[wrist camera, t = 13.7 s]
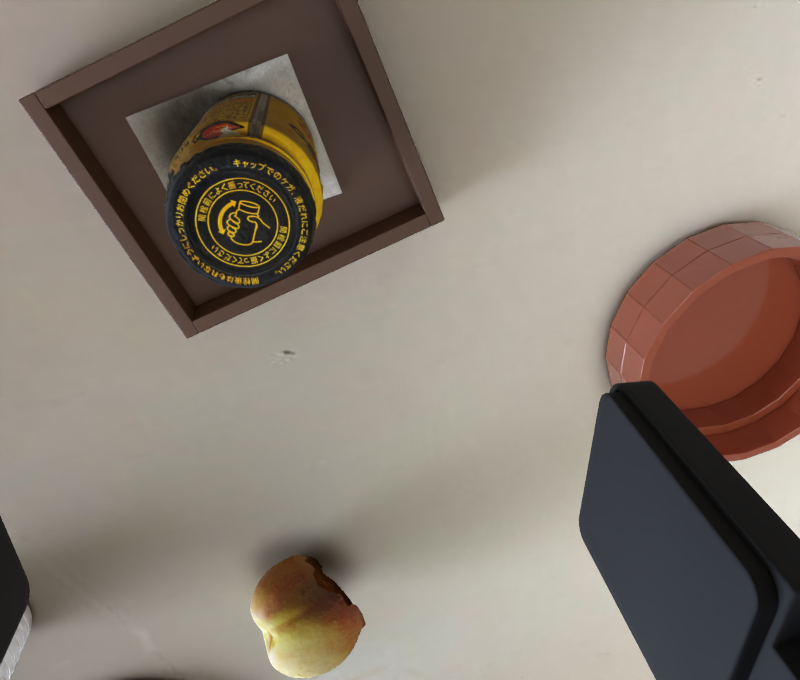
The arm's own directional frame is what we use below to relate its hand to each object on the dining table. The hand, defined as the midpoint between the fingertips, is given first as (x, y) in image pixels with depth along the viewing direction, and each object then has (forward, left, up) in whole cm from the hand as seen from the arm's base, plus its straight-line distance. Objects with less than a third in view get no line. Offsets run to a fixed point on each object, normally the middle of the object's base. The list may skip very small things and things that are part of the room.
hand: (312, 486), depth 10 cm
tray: (0, -2, -27) cm, 27 cm away
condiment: (0, -3, -26) cm, 27 cm away
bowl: (+13, +27, -27) cm, 40 cm away
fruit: (+31, -2, -27) cm, 41 cm away
